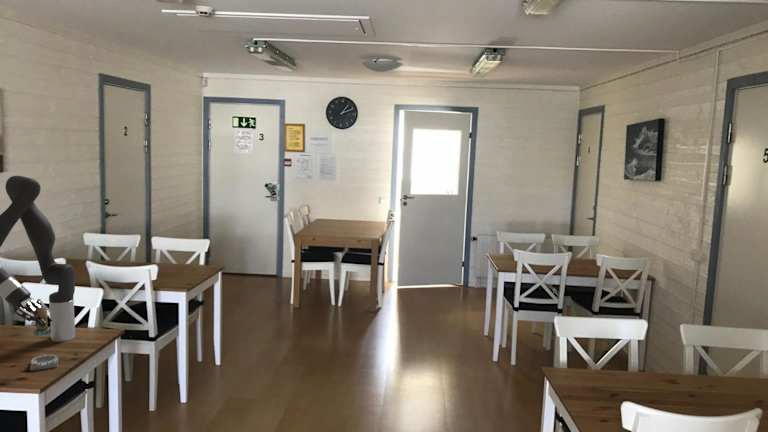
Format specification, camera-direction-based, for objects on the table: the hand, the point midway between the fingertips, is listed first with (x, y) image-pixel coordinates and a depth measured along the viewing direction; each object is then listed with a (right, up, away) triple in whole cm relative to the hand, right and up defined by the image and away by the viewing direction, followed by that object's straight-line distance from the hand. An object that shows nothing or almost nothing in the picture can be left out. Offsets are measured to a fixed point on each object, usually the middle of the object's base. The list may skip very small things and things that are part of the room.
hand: (47, 323), depth 217 cm
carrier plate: (-2, -16, +2) cm, 17 cm away
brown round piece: (-2, -4, 0) cm, 5 cm away
